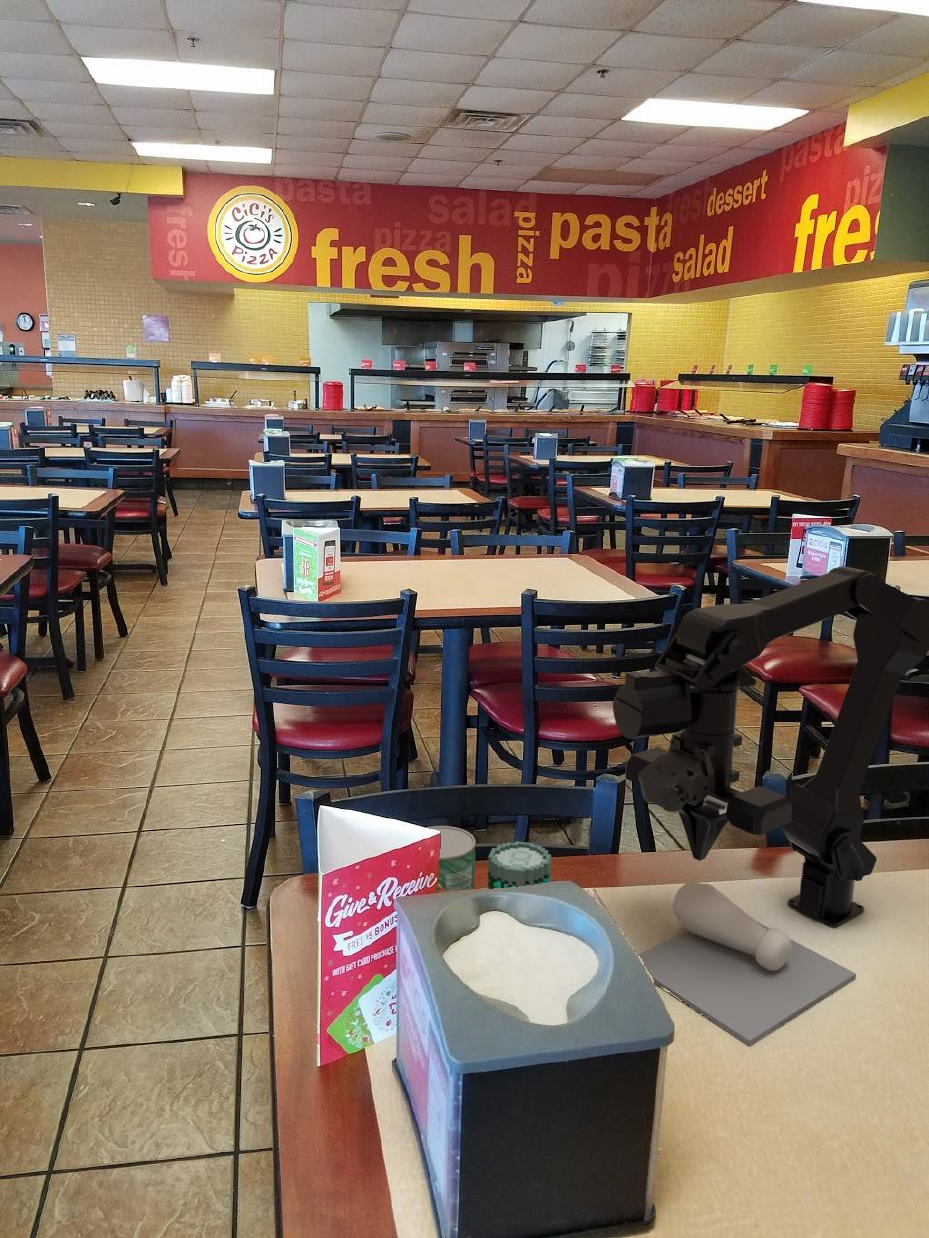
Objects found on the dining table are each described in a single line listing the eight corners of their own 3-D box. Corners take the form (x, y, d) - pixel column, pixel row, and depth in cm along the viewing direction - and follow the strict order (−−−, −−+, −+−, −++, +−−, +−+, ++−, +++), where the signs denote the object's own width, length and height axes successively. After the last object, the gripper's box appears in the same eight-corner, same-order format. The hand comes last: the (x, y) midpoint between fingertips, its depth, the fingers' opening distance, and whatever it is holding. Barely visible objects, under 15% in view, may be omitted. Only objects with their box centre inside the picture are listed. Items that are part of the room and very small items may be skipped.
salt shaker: (672, 931, 106) (772, 991, 96) (662, 902, 102) (765, 962, 93) (702, 894, 108) (802, 950, 99) (693, 865, 105) (795, 920, 96)
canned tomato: (486, 919, 108) (487, 833, 105) (457, 953, 101) (457, 863, 99) (427, 903, 111) (427, 820, 109) (395, 936, 104) (393, 848, 102)
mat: (732, 913, 109) (732, 908, 109) (855, 978, 97) (856, 973, 96) (626, 965, 99) (626, 960, 99) (749, 1046, 86) (749, 1040, 86)
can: (483, 1000, 93) (484, 866, 90) (495, 966, 99) (496, 839, 95) (542, 1009, 91) (545, 873, 88) (550, 974, 97) (554, 845, 94)
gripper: (593, 717, 101) (588, 846, 104) (730, 770, 86) (720, 918, 90) (661, 699, 107) (655, 822, 111) (800, 745, 93) (788, 884, 96)
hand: (699, 858), depth 102 cm, fingers closed
